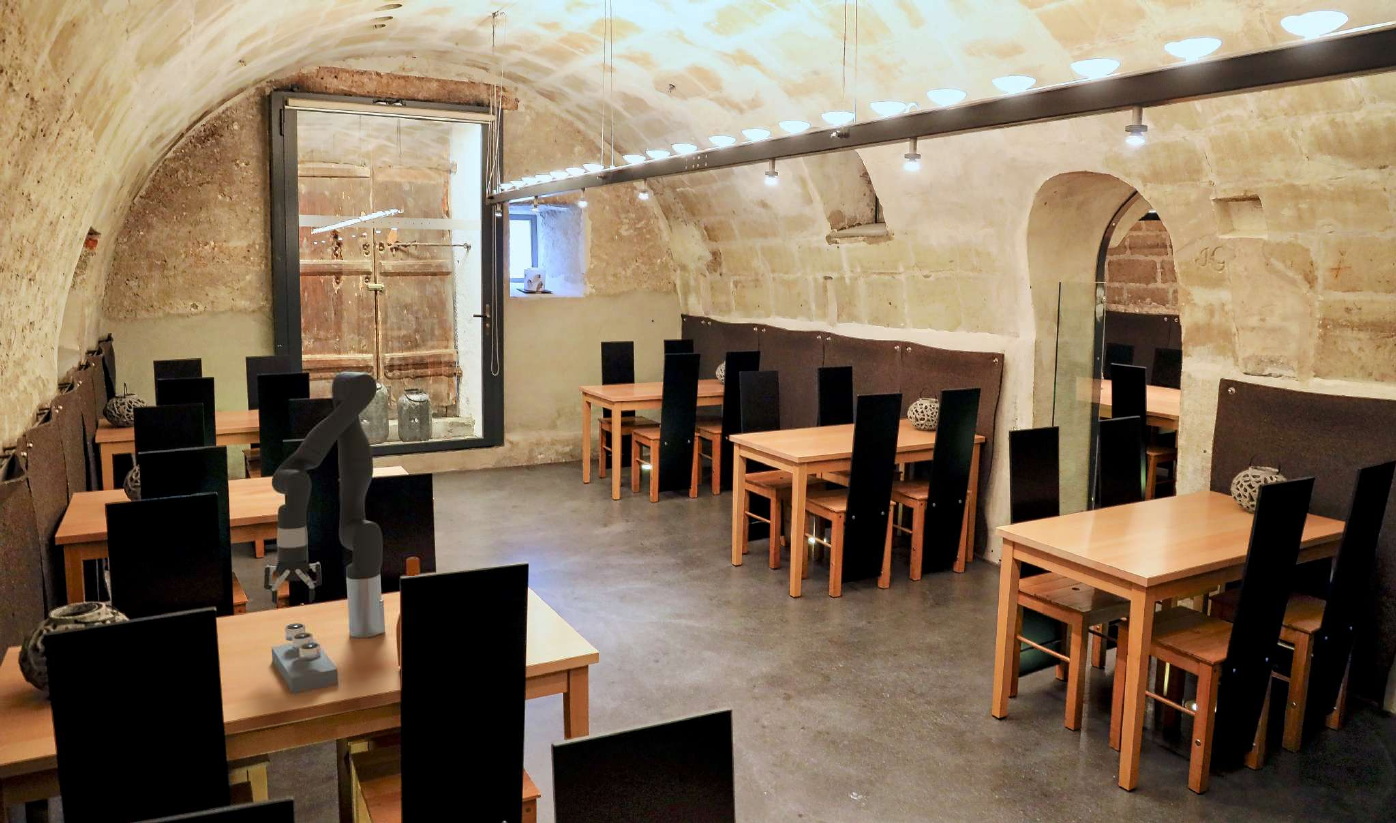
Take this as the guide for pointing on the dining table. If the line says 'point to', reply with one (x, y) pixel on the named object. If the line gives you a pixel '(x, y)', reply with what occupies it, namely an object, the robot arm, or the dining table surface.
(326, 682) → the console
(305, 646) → the knob
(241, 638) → the dining table surface
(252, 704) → the dining table surface
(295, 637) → the knob
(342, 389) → the robot arm
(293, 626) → the knob
